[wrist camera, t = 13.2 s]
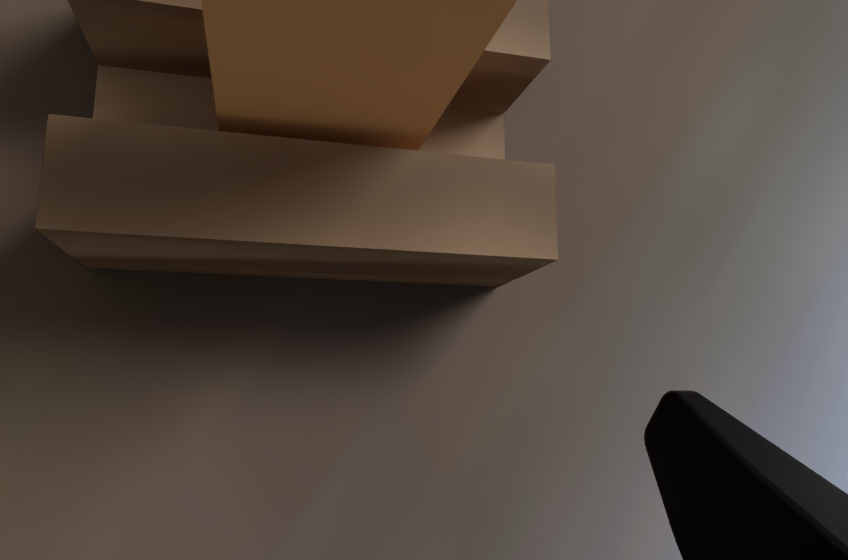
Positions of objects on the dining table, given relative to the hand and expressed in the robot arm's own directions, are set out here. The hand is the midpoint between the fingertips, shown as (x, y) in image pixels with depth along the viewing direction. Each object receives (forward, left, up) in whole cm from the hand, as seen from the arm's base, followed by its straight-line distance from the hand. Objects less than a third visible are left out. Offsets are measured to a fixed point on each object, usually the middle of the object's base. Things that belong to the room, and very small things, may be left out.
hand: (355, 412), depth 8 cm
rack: (+12, -3, -14) cm, 18 cm away
